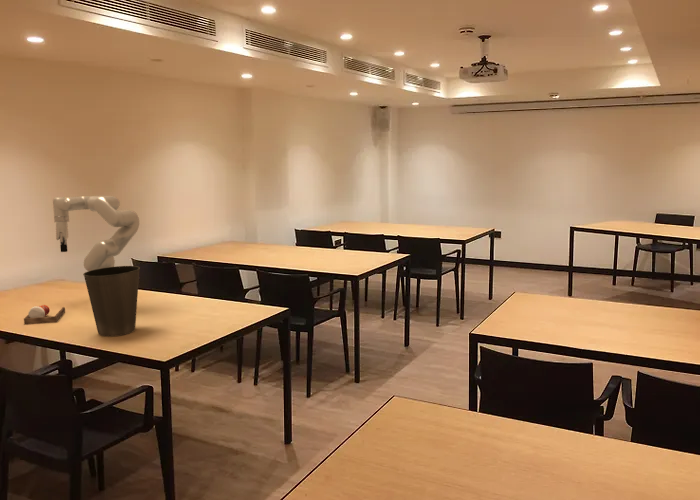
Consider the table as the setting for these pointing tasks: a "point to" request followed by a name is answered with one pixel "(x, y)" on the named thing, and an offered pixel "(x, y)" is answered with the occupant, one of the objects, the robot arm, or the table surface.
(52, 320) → the u rest
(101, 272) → the waste basket
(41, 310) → the paper cup
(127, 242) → the robot arm
